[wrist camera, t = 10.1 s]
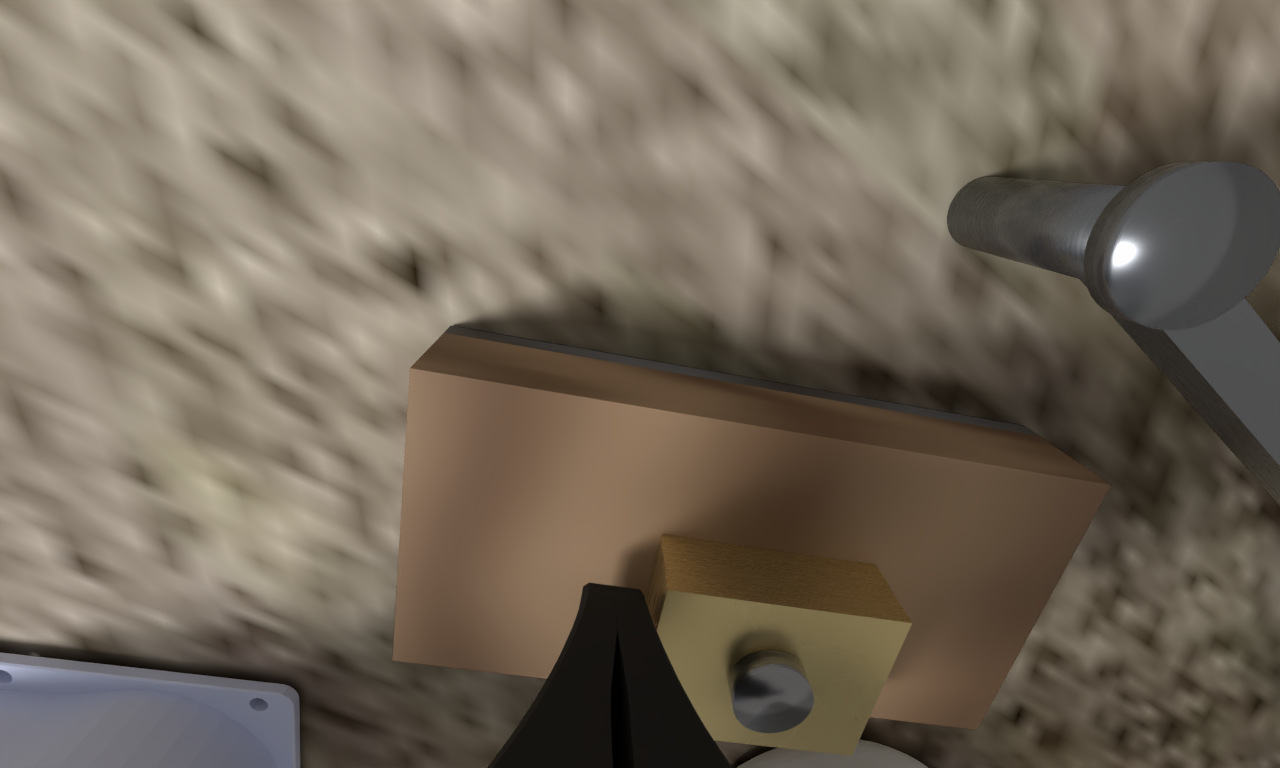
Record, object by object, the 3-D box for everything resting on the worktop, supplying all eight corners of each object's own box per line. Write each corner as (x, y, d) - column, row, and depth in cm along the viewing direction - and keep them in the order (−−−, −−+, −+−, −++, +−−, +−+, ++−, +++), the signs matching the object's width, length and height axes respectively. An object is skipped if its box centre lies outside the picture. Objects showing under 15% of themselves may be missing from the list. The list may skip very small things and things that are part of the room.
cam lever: (1185, 507, 17) (1431, 661, 12) (908, 219, 14) (1080, 260, 9) (1262, 448, 16) (1559, 585, 11) (992, 134, 13) (1231, 122, 8)
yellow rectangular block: (629, 663, 14) (631, 758, 12) (661, 533, 13) (670, 612, 11) (825, 687, 15) (862, 782, 13) (876, 564, 14) (926, 646, 11)
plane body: (429, 576, 17) (392, 660, 14) (450, 325, 14) (409, 368, 11) (922, 642, 18) (976, 730, 16) (1024, 425, 16) (1111, 484, 13)
